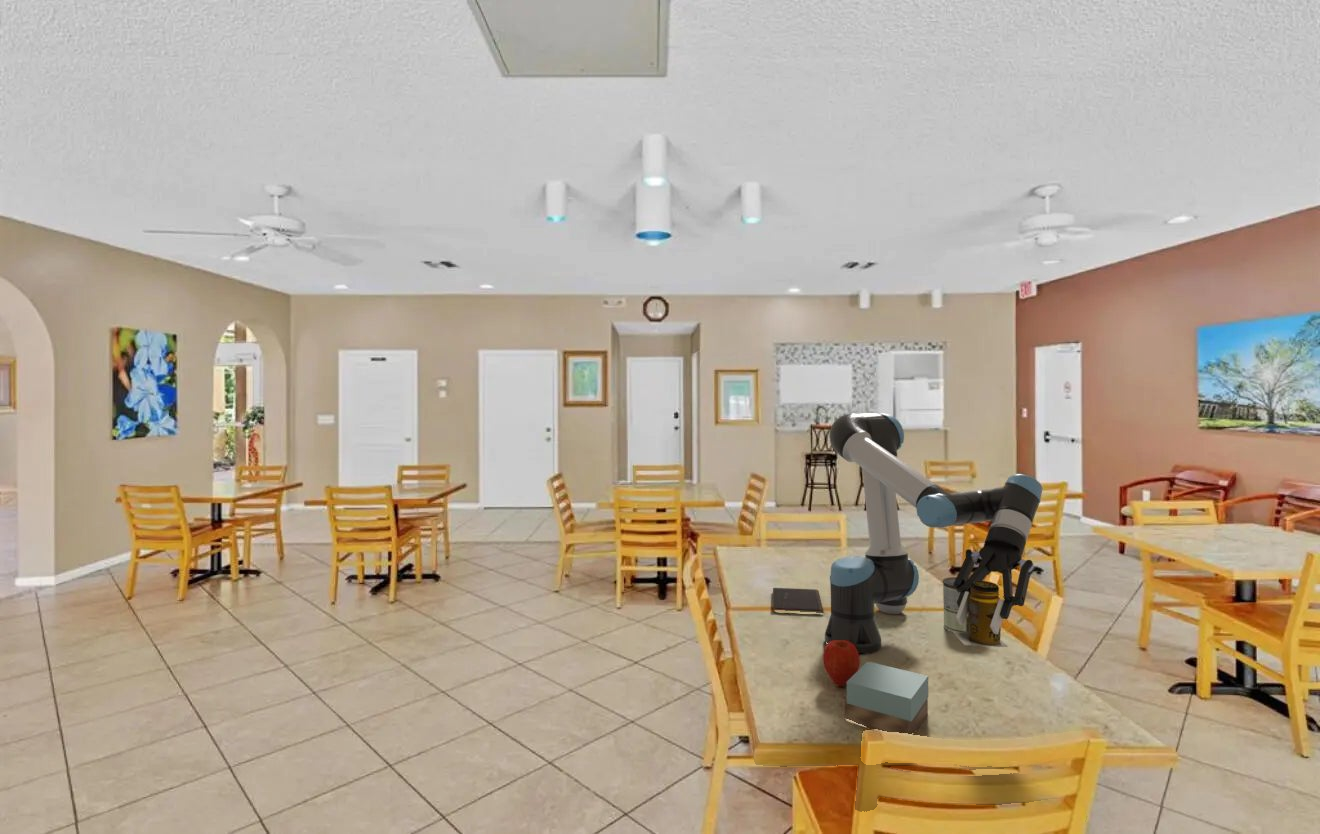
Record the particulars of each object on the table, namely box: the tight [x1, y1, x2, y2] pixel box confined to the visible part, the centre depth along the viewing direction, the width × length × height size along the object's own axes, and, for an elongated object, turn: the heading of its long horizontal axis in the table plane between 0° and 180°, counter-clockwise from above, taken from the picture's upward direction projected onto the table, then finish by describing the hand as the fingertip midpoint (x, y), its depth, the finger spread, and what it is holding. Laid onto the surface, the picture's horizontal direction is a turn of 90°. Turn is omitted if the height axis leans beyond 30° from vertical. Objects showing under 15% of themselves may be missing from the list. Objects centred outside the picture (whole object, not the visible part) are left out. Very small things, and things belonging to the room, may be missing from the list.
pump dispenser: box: [875, 597, 908, 615], centre depth 199 cm, size 10×10×15 cm
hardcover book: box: [772, 587, 825, 614], centre depth 209 cm, size 16×23×2 cm
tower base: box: [844, 697, 929, 734], centre depth 130 cm, size 13×13×4 cm
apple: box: [822, 640, 861, 687], centre depth 146 cm, size 9×8×11 cm
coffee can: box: [942, 576, 968, 633], centre depth 182 cm, size 10×10×14 cm
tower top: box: [846, 661, 929, 721], centre depth 130 cm, size 13×13×4 cm
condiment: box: [952, 580, 1009, 648], centre depth 129 cm, size 7×8×12 cm
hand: (976, 625), depth 126 cm, fingers closed on condiment, 6 cm apart
